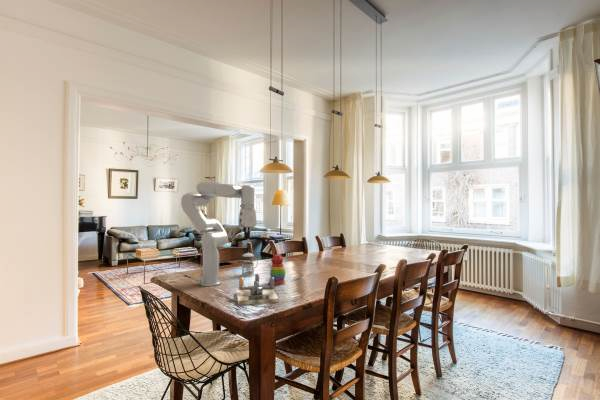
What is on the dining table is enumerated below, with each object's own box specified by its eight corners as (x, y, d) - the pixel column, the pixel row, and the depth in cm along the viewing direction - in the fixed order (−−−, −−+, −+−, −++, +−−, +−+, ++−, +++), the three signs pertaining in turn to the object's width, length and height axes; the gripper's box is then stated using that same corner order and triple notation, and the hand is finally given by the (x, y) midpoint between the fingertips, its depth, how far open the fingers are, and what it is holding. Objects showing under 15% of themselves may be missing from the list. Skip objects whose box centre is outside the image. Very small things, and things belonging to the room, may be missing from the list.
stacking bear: (269, 280, 204) (270, 252, 205) (285, 281, 204) (286, 253, 204) (267, 285, 194) (268, 255, 194) (284, 285, 193) (284, 256, 193)
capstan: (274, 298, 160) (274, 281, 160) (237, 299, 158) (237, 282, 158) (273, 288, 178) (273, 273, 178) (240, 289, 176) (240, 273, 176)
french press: (240, 273, 223) (241, 238, 223) (257, 273, 224) (258, 238, 224) (239, 277, 213) (240, 239, 213) (257, 277, 214) (258, 239, 214)
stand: (237, 305, 155) (237, 297, 155) (235, 293, 175) (235, 286, 175) (278, 302, 160) (279, 295, 160) (272, 291, 180) (272, 284, 180)
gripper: (242, 207, 174) (241, 240, 174) (261, 206, 186) (260, 238, 186) (233, 206, 179) (232, 239, 179) (252, 206, 191) (251, 237, 191)
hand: (246, 238), depth 182 cm, fingers closed
